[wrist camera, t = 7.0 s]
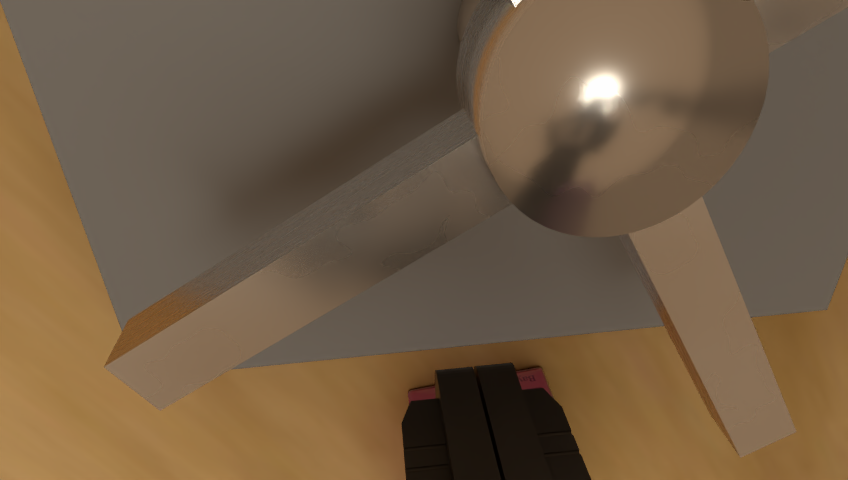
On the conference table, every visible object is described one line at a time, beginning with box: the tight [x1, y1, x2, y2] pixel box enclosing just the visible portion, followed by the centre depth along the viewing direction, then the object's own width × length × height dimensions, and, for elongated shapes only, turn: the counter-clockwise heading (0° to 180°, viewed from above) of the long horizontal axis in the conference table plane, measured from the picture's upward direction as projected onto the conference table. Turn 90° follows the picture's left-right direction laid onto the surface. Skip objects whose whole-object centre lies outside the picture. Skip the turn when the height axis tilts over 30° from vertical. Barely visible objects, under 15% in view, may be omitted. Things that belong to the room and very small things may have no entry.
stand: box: [0, 0, 848, 369], centre depth 14 cm, size 24×21×6 cm
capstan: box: [104, 0, 848, 458], centre depth 10 cm, size 22×20×2 cm
